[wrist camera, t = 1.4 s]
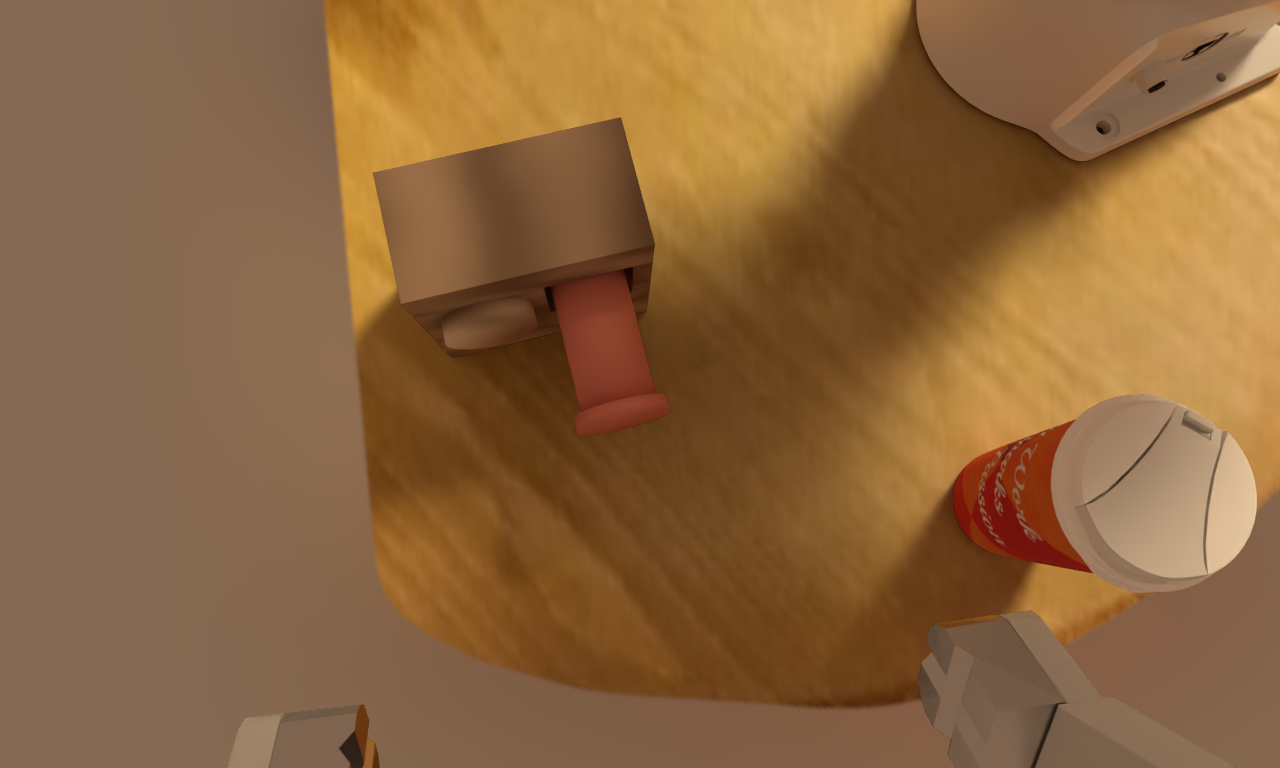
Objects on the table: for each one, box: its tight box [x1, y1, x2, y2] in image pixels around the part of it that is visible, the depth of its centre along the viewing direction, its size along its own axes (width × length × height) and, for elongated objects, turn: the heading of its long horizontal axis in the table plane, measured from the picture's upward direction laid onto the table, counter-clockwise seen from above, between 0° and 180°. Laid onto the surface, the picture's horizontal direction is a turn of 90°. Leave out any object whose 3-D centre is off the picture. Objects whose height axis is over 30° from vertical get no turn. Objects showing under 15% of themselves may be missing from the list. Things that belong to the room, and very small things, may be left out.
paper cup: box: [953, 394, 1257, 593], centre depth 39 cm, size 8×8×14 cm
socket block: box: [373, 117, 655, 358], centre depth 42 cm, size 11×7×11 cm, turn 104°
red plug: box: [550, 269, 669, 436], centre depth 40 cm, size 4×11×4 cm, turn 14°
